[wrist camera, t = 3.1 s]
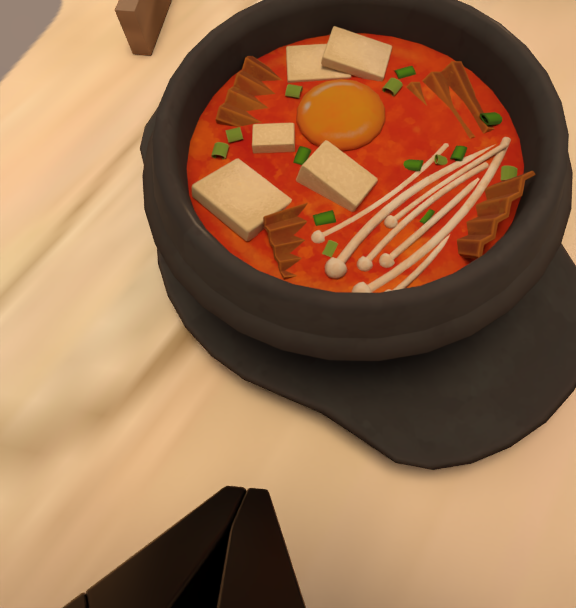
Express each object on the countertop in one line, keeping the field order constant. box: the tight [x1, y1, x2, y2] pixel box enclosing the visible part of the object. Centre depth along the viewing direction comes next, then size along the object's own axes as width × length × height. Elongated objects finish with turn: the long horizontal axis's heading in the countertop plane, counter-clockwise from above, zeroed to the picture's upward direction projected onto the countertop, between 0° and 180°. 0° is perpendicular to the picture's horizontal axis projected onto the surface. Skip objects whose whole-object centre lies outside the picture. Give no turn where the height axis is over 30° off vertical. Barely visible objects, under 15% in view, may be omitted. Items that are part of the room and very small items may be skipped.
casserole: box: [140, 0, 576, 470], centre depth 22 cm, size 25×19×8 cm
